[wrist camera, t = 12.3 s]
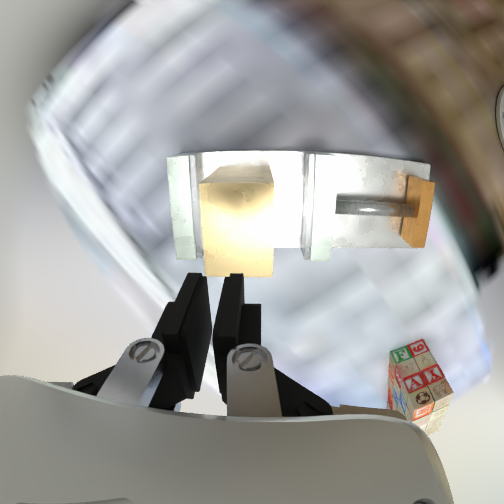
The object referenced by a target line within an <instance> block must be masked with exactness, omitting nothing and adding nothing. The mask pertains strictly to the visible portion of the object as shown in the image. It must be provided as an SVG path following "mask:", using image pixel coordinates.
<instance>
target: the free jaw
mask: <svg viewBox="0 0 504 504" xmlns="http://www.w3.org/2000/svg"><path fill="white" fill-rule="evenodd" d="M338 157H339V156H336V155H333V154H331V153H313V152H305V174H304V203H303V224H302V242H301V250H302V253H303V256H304V260H310V261H330V260H331V251H332V241H333V231H334V220H335V214H342V215H370V216H392V217H404V219H403V225H402V231H401V238H402V239H403V240H405V241H406V242H407V243H408V244H409V245H410V246H411V247H412V248H424V246H425V241H426V237H427V231H428V226H429V221H430V215H431V209H432V202H433V195H434V187H435V182H432V181H430V180H427V179H425V178H422V177H417V176H410V175H409V179H408V188H407V197H406V204H403V203H389V202H373V201H354V200H336V194H337V178H338Z"/></svg>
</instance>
